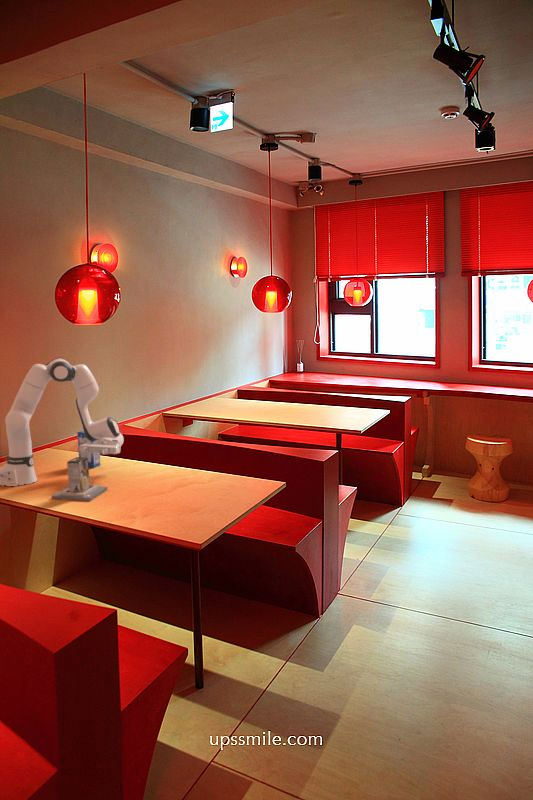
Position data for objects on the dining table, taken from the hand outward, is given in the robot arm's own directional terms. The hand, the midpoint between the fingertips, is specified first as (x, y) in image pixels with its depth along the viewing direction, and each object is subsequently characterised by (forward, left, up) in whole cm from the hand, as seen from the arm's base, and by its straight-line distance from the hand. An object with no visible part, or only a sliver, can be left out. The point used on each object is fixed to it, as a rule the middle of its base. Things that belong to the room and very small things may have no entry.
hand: (92, 451), depth 312 cm
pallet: (0, -15, -17) cm, 23 cm away
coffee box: (0, -16, -16) cm, 23 cm away
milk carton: (-20, +33, -18) cm, 43 cm away
